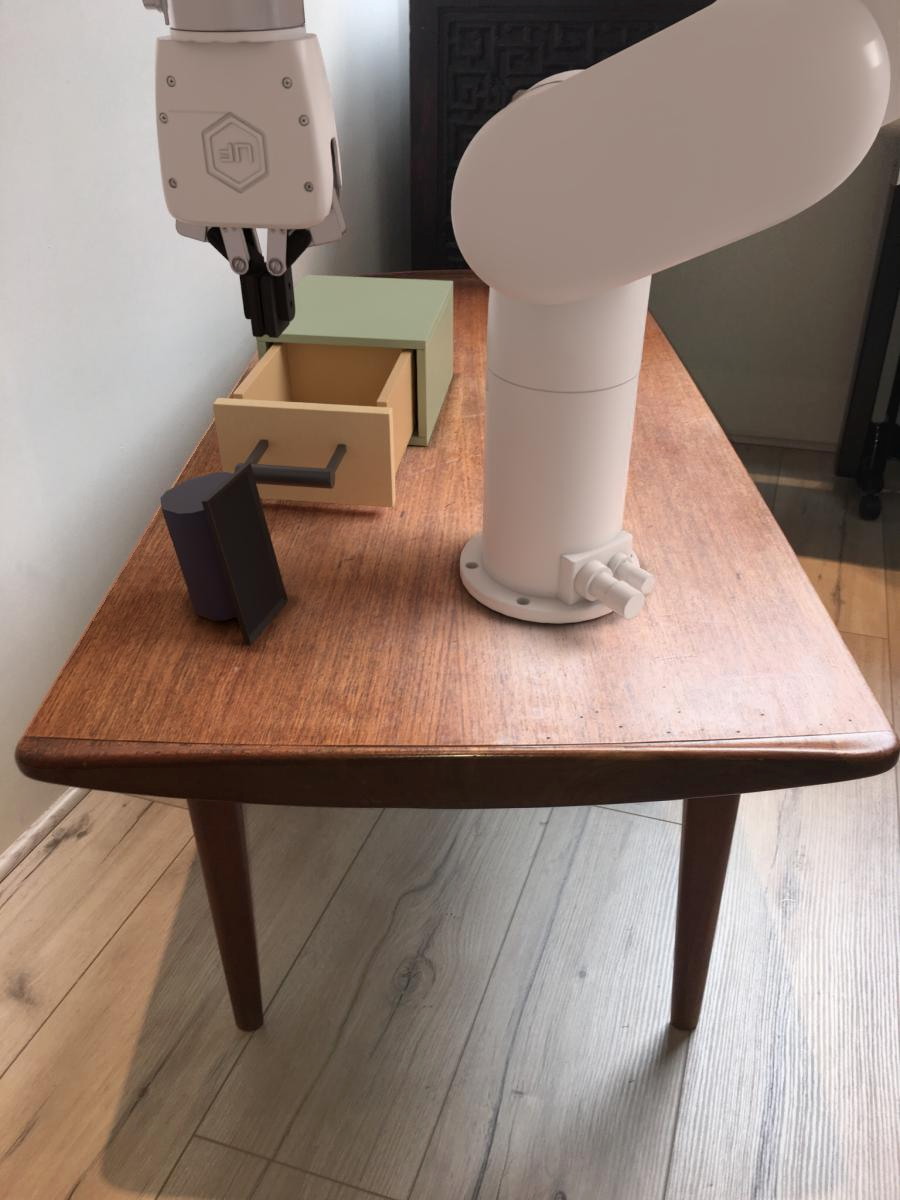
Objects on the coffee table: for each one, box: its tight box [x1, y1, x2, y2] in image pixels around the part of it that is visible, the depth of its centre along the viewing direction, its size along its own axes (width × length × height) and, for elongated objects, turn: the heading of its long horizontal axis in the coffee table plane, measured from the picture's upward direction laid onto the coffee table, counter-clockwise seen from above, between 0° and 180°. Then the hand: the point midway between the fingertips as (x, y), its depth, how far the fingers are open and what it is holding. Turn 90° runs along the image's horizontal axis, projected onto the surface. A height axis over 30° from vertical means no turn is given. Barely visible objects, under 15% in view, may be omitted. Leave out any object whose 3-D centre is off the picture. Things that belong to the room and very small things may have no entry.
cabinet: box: [255, 274, 454, 447], centre depth 92 cm, size 17×15×10 cm
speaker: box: [159, 463, 289, 646], centre depth 65 cm, size 8×6×10 cm
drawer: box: [212, 342, 417, 508], centre depth 79 cm, size 21×13×8 cm, turn 172°
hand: (272, 330), depth 65 cm, fingers closed
